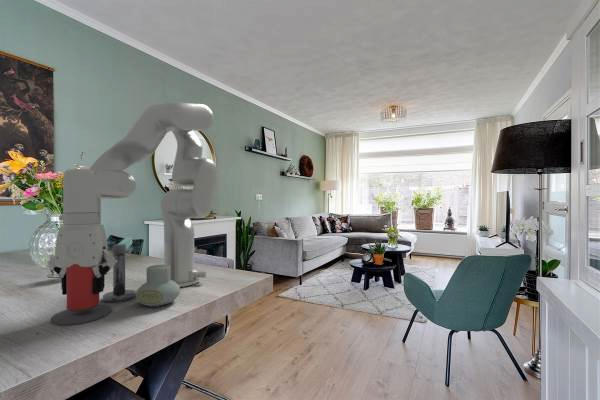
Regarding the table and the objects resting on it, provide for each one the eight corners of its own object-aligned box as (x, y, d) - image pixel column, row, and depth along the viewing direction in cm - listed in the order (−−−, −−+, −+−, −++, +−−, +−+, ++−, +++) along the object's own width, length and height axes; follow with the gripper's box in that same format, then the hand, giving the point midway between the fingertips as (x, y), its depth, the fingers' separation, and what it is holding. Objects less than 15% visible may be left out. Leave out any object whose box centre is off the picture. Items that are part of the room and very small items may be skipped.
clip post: (140, 293, 92) (140, 251, 92) (126, 302, 84) (126, 256, 84) (112, 293, 92) (112, 251, 92) (96, 302, 84) (96, 257, 84)
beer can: (105, 303, 78) (105, 256, 78) (85, 312, 71) (84, 261, 71) (81, 302, 79) (81, 255, 79) (59, 311, 72) (58, 261, 72)
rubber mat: (120, 306, 81) (120, 303, 81) (92, 324, 69) (92, 322, 69) (73, 307, 81) (73, 304, 81) (37, 326, 69) (37, 323, 69)
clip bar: (124, 254, 87) (124, 245, 87) (111, 254, 86) (111, 246, 86) (134, 243, 107) (134, 236, 107) (123, 244, 106) (123, 237, 106)
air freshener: (130, 308, 80) (130, 269, 80) (148, 297, 88) (147, 263, 88) (170, 309, 79) (170, 270, 79) (184, 298, 88) (184, 263, 87)
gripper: (33, 221, 71) (34, 298, 71) (110, 220, 72) (111, 297, 72) (57, 219, 78) (57, 288, 78) (127, 218, 79) (127, 287, 79)
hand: (83, 292), depth 75 cm, fingers closed on beer can, 6 cm apart
